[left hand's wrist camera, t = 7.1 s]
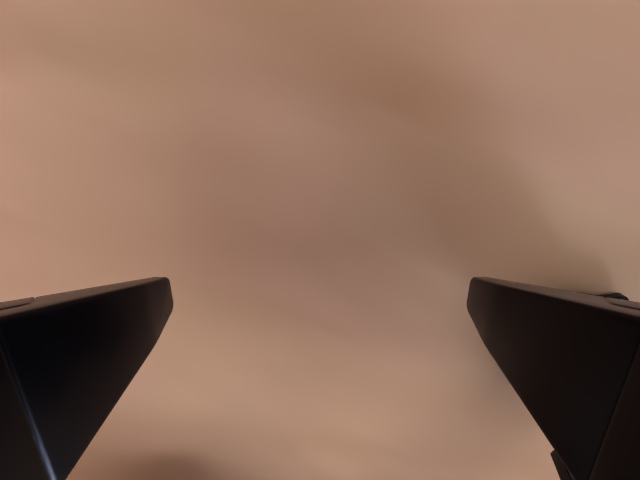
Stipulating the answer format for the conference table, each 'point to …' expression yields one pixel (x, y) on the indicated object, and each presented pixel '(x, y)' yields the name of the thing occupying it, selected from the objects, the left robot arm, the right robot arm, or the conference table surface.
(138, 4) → the conference table surface
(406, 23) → the conference table surface
